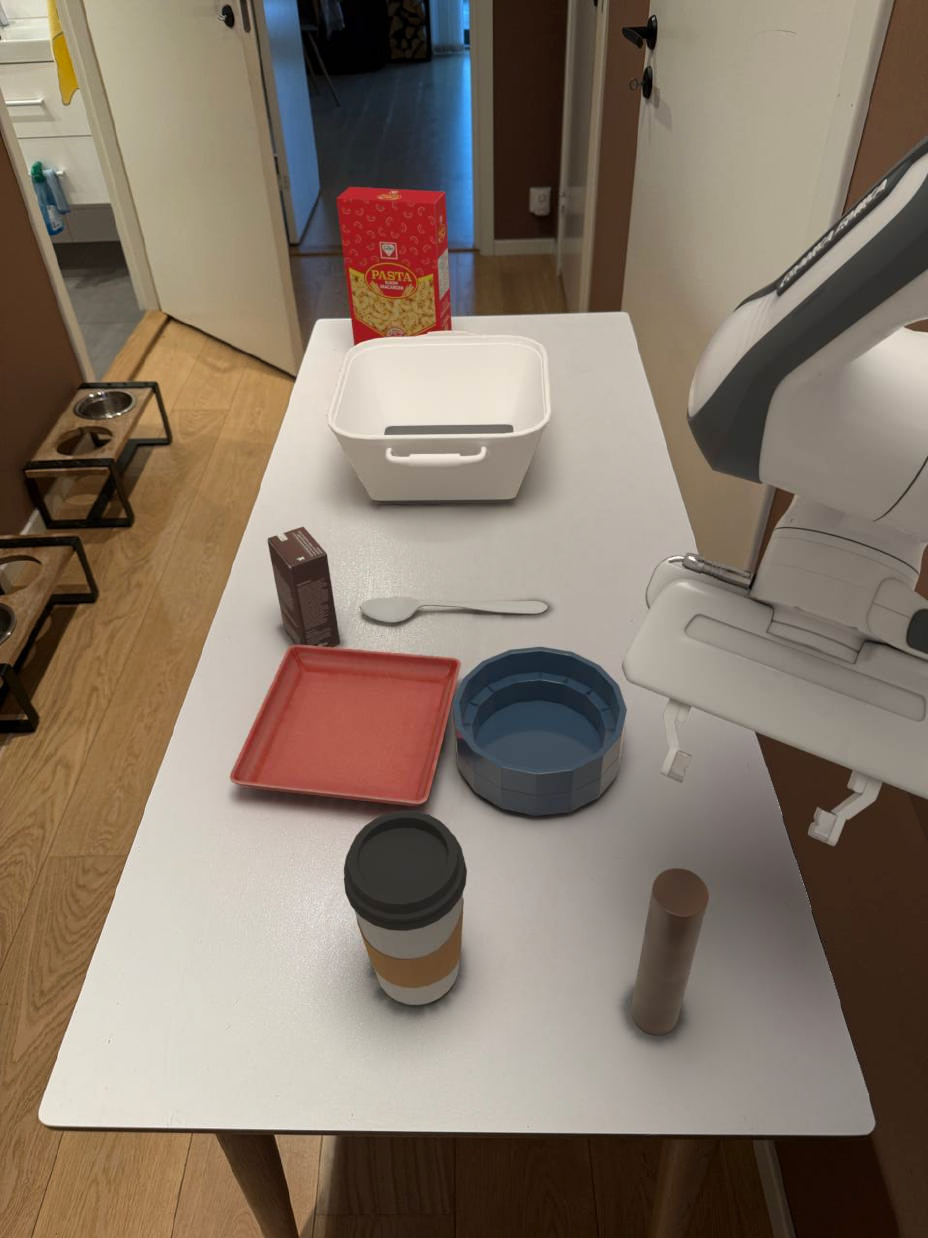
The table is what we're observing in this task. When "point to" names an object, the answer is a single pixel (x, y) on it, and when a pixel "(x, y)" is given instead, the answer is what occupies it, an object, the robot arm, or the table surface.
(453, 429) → the tub
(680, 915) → the brown cylinder
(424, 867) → the coffee cup
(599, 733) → the bowl
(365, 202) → the food packaging
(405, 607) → the spoon
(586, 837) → the table surface
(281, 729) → the plant saucer
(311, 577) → the box
